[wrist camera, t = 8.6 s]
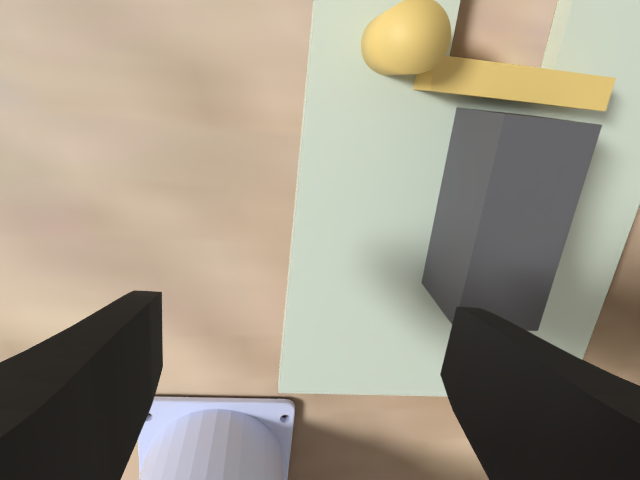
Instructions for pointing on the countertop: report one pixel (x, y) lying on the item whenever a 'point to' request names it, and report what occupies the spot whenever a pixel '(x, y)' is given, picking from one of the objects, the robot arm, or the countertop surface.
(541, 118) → the tall gray prism
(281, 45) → the countertop surface
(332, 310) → the pale green u-shaped slab
